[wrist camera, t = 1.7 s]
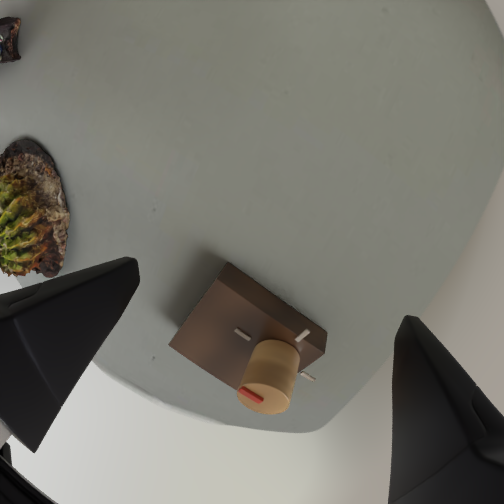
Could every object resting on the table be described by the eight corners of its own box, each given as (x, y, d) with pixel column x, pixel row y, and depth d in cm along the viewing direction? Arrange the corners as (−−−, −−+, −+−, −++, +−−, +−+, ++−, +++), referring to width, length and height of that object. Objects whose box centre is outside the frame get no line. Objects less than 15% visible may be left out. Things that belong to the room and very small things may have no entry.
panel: (348, 335, 24) (347, 357, 22) (273, 389, 30) (267, 409, 27) (234, 252, 23) (222, 270, 21) (179, 328, 29) (166, 346, 27)
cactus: (10, 115, 23) (-60, 137, 15) (91, 186, 24) (6, 230, 16) (-2, 225, 32) (-52, 256, 24) (64, 297, 33) (14, 342, 25)
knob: (309, 357, 23) (299, 406, 19) (281, 377, 25) (267, 423, 21) (271, 331, 23) (253, 379, 18) (245, 355, 24) (226, 399, 20)
